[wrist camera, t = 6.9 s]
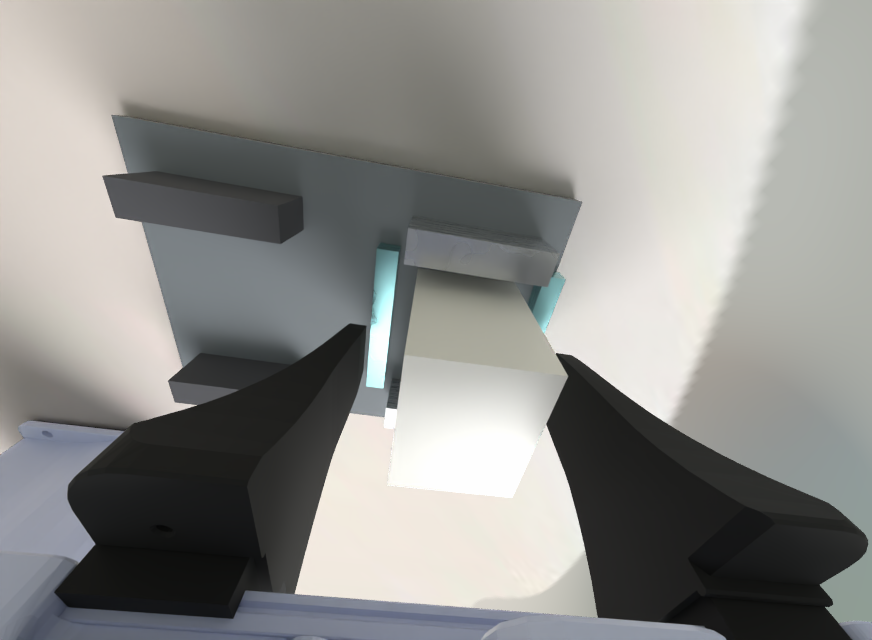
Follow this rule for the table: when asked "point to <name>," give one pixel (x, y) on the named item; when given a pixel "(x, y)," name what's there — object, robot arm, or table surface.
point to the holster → (219, 214)
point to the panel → (309, 244)
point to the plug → (471, 387)
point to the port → (458, 254)
